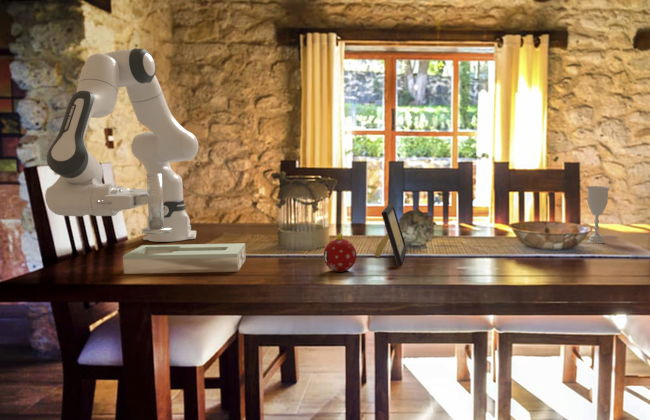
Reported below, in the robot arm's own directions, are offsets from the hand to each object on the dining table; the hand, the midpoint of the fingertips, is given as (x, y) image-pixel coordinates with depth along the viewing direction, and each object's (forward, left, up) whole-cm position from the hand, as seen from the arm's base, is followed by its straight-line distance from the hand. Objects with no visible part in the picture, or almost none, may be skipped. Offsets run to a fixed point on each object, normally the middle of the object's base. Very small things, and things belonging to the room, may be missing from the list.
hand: (158, 199), depth 152 cm
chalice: (-26, +134, -19) cm, 138 cm away
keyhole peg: (0, -1, -9) cm, 9 cm away
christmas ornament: (+10, +49, -19) cm, 54 cm away
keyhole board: (0, +7, -19) cm, 20 cm away
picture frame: (-8, +64, -19) cm, 67 cm away
